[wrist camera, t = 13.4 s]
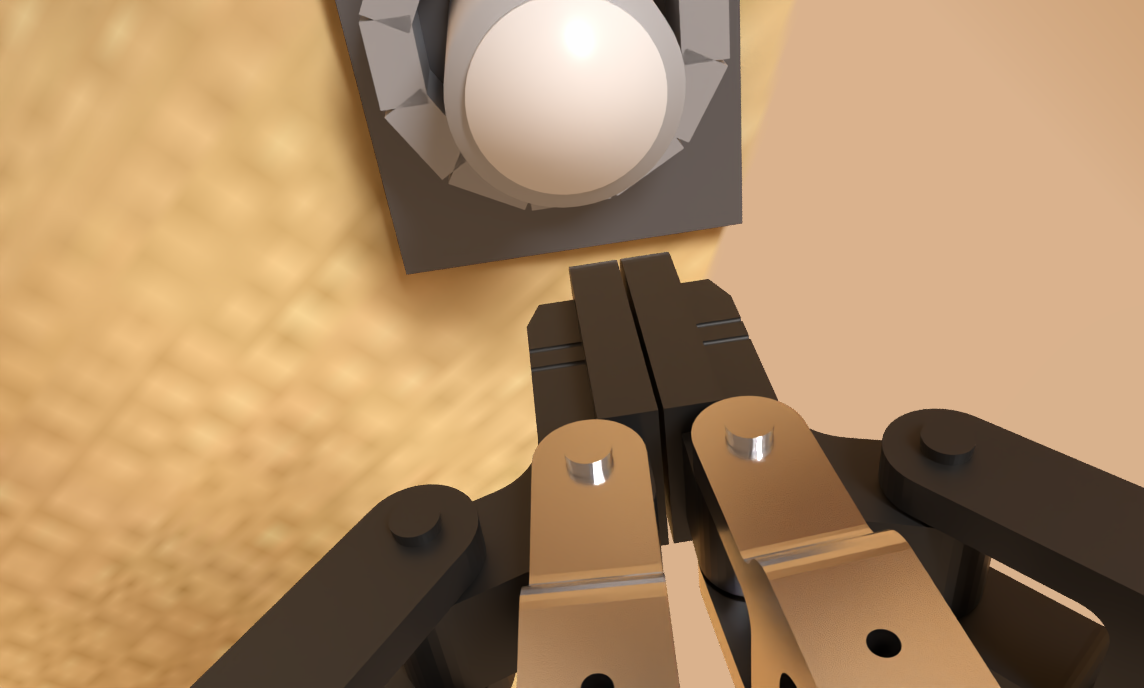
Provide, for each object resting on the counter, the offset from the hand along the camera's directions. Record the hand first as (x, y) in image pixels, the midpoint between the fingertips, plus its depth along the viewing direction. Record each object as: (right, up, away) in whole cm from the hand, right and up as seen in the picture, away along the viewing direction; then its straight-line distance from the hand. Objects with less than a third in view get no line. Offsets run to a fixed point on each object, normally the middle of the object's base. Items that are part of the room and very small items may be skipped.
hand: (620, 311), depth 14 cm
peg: (-2, +9, +14) cm, 17 cm away
